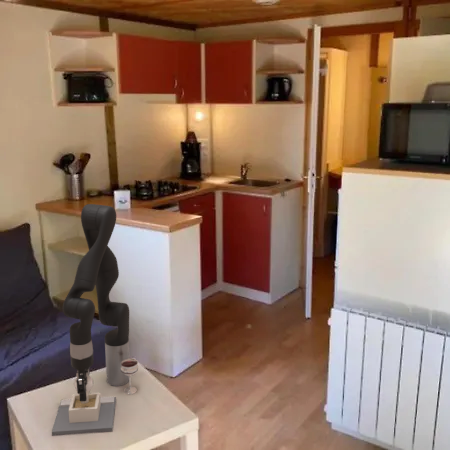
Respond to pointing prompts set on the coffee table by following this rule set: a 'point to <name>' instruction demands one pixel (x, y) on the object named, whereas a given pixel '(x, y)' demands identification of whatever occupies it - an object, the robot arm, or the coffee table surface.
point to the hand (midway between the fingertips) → (84, 395)
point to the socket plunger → (89, 404)
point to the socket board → (85, 416)
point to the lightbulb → (88, 388)
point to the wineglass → (129, 372)
